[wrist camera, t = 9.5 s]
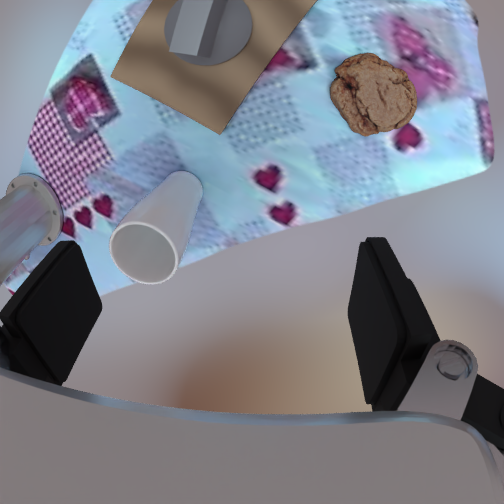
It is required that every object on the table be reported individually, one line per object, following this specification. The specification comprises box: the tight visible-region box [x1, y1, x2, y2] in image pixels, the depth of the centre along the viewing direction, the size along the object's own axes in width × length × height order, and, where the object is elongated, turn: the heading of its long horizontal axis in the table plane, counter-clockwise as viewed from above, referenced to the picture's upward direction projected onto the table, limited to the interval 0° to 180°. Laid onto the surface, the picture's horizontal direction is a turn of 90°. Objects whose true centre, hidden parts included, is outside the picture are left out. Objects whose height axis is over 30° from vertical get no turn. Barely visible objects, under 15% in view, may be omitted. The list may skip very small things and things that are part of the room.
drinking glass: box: [109, 171, 203, 284], centre depth 32 cm, size 7×7×15 cm
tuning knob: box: [164, 0, 253, 65], centre depth 22 cm, size 11×9×7 cm
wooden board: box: [111, 0, 317, 135], centre depth 27 cm, size 20×15×2 cm
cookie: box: [330, 53, 417, 136], centre depth 29 cm, size 10×11×3 cm
